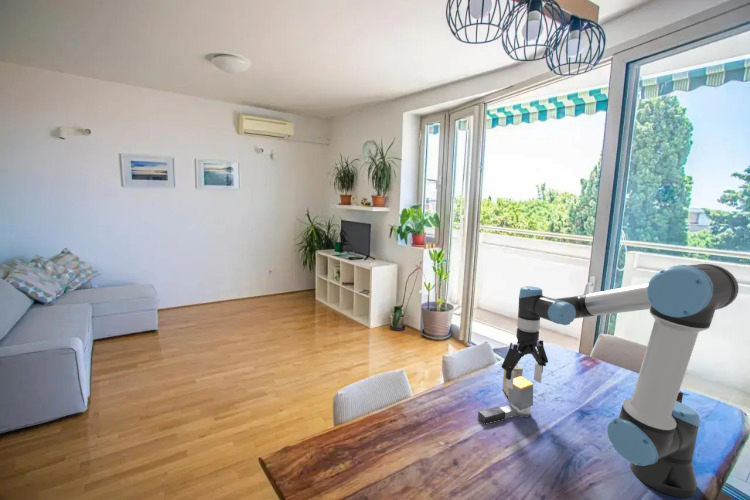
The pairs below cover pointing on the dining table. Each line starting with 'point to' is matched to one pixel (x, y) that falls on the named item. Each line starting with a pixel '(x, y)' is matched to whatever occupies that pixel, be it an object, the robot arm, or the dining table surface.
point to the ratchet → (502, 413)
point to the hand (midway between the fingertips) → (523, 384)
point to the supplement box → (517, 373)
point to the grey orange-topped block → (521, 393)
